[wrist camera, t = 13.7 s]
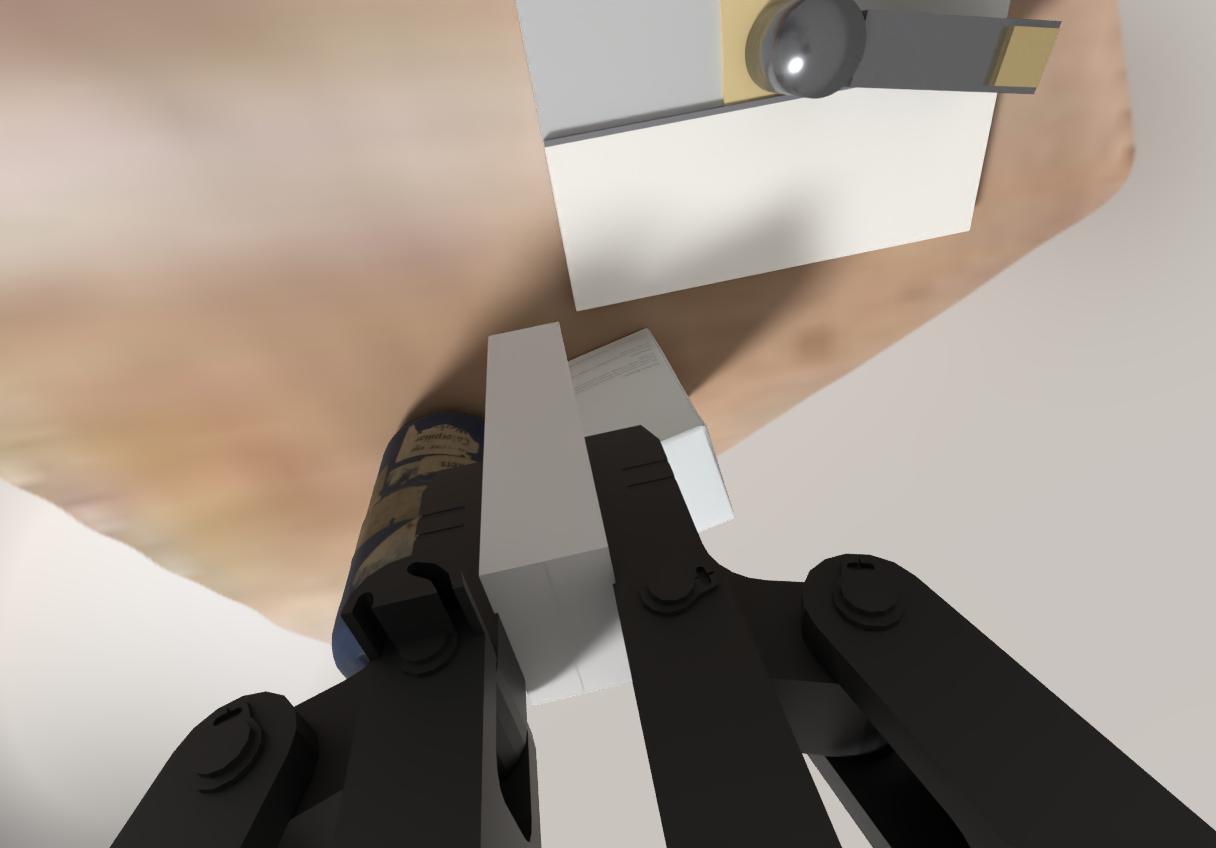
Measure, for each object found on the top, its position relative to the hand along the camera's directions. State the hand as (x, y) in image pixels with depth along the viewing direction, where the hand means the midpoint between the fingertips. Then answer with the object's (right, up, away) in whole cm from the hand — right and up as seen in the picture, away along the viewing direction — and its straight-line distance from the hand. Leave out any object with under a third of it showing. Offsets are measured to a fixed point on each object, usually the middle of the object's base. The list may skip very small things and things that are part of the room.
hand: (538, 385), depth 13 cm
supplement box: (+2, +2, +29) cm, 29 cm away
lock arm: (+16, +19, +18) cm, 30 cm away
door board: (+11, +17, +20) cm, 29 cm away
